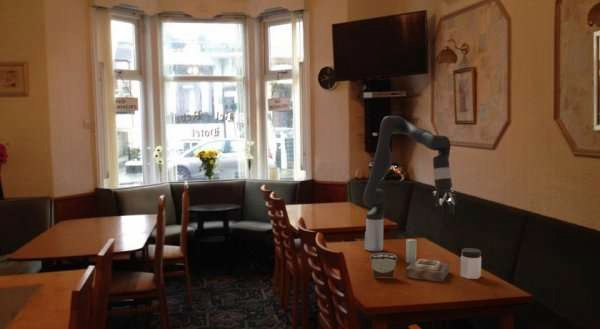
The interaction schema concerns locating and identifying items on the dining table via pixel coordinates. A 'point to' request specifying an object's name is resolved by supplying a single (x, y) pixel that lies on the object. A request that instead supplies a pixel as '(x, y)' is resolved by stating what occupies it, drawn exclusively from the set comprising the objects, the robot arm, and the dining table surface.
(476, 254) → the jar
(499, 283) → the dining table surface
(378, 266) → the food container
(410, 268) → the display plinth
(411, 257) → the sage cylinder
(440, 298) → the dining table surface
